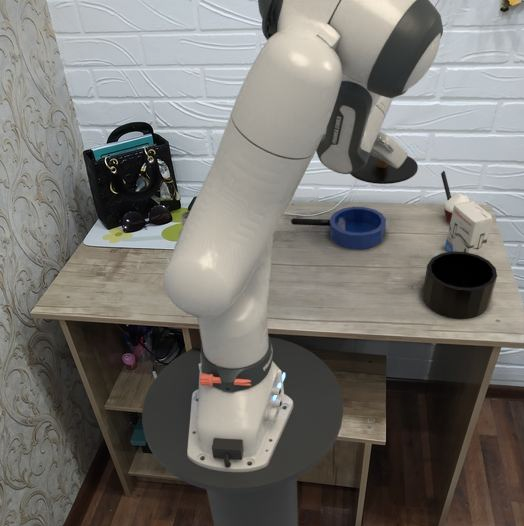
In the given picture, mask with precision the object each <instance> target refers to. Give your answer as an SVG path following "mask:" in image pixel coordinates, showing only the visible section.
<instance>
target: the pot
mask: <svg viewBox="0 0 524 526" xmlns="http://www.w3.org/2000/svg"><path fill="white" fill-rule="evenodd" d="M497 277H498V273H497V268H496V267H495V265H494V264H493V263H492V262H491V261H490V260H488V259H486V258H485V257H484V256H483V257H481V256H479V255H476V254H472V253H468V252H456V251H452V252H448V251H446V252H440V253H439V254H437V255H435V256H433V257H432V258H431V259H430V260H429V261H428V262H427V265H426V271H425V275H424V282H423V287H422V300H423V302H424V304H425V305H426V308H428V309H430V311H432V312H434V313H435V314H437V315H439V316H442V317H445V318H449V319H455V320H467V319H468V320H469V319H473V318H476V317H479V316H481V315H482V314H484V313H485V312H486V311H487V310H488V307H489V306H490V303H491V300H492V297H493V293H494V289H495V285H496V282H497V279H498V278H497Z"/></svg>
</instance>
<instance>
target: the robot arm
mask: <svg viewBox="0 0 524 526" xmlns="http://www.w3.org/2000/svg"><path fill="white" fill-rule="evenodd" d="M257 5H258V12H259V15H260V17H261V30H262V35H263V36H264V38H265V40H266V42H265V43H264V45H263V46H262V48H261V49H260V51H259V52H258V54H257V56H256V57H255V60H254V61H253V63H252V65H251V66H250V69H249V70H248V72H247V74H246V76H245V77H244V78H245V79H244V80H243V83H242V85H241V86H240V89H239V91H238V94H237V96H236V98H235V101H234V104H233V106H232V109H231V111H230V114H229V117H228V120H227V123H226V126H225V129H224V131H223V133H222V136H221V139H220V141H219V145H218V148H217V150H216V154H215V156H214V159H213V161H212V164H211V166H210V169H209V171H208V173H207V175H206V177H205V179H204V181H203V183H202V185H201V187H200V189H199V192H198V194H197V196H196V198H195V200H194V202H193V204H192V206H191V209H190V210H189V211H190V213H189V215H188V217H187V220H186V222H185V224H184V226H183V225H182V228H183V229H182V228H181V229H182V231H181V230H180V231H181V233H180V232H179V233H180V236H179V235H178V239H177V241H176V243H175V246H174V248H173V251H172V253H171V255H170V257H169V260H168V262H167V265H166V267H165V269H164V273H163V279H162V281H163V287H164V291H165V293H166V294H167V296H168V298H169V300H170V301H171V302H172V303H173V304H174V305H175V306H176V307H177V308H178V309H179V310H181V311H182V312H184V313H185V314H187V315H190V316H192V317H195V318H196V319H197V323H198V329H199V335H200V341H201V345H200V349H201V355H200V360H201V363H200V364H199V369H200V376H199V389H198V390H196V391H194V392H193V394H192V403H191V414H190V426H189V437H188V449H187V455H188V458H189V459H190V460H191V461H192V462H193V463H195V464H197V465H199V466H202V467H204V468H208V469H212V470H217V471H224V472H250V471H255V470H259V469H262V468H264V467H266V466H267V465H268V463H269V461H270V459H271V457H272V455H273V452H274V450H275V448H276V446H277V443H278V441H279V439H280V436H281V434H282V432H283V430H284V427H285V425H286V423H287V421H288V418H289V416H290V414H291V412H292V409H293V407H294V405H293V401H292V399H291V398H289V397H288V396H287V395H285V394H284V389H283V380H284V378H285V373H283V375H282V372H281V370H280V369H279V368H278V367H277V366H276V364H275V363H274V362H273V361H272V355H273V354H272V353H273V351H272V345H271V341H270V338H269V337H270V336H269V325H268V297H269V290H270V289H269V288H270V281H271V271H272V259H273V245H274V234H275V232H276V230H277V227H278V226H279V224H280V222H281V220H282V219H283V216H284V214H285V212H286V211H287V209H288V208H289V205H290V203H291V201H292V200H293V197H294V195H295V194H296V191H297V189H298V187H299V185H300V184H301V181H302V179H303V177H304V176H305V173H306V171H307V170H308V167H309V166H310V164H311V162H312V160H313V158H314V156H315V155H317V157H318V160H319V161H320V163H321V164H322V165H323V166H324V167H325V168H326V169H328V170H330V171H332V172H335V173H337V174H341V175H351V174H350V173H353V172H356V171H358V170H360V169H362V168H364V167H365V166H366V164H367V162H368V159H369V156H370V155H372V156H374V157H376V158H378V159H379V160H381V161H383V162H385V163H387V164H388V165H390V166H392V167H394V168H396V169H398V168H399V167H400V166H401V165H402V164H403V162H404V161H405V159H406V158H407V156H409V154H408V152H407V150H406V149H404V148H403V147H402V146H401V145H400V144H399V142H397V141H396V140H395V139H394V138H392V137H391V136H390V135H388V134H386V133H385V132H382V131H381V128H382V126H383V124H384V121H385V119H386V116H387V114H388V113H389V109H390V108H391V104H392V102H393V99H394V98H397V97H400V96H403V95H405V94H406V93H407V92H408V91H409V90H410V89H411V88H413V87H414V86H415V85H417V84H418V83H419V82H420V81H421V80H422V79H423V78H424V77H425V75H426V74H427V73H428V72H429V70H430V69H431V67H432V65H433V63H434V62H435V59H436V57H437V55H438V51H439V48H440V45H441V39H442V36H443V33H444V27H443V26H444V25H443V20H442V16H441V14H440V12H439V11H438V10H437V8H436V6H434V4H433V3H432V2H431V1H430V0H257ZM315 153H316V154H315ZM284 408H285V409H284ZM201 459H204V460H201ZM248 464H252V465H250V466H249V465H248Z"/></svg>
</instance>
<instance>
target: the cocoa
mask: <svg viewBox="0 0 524 526" xmlns="http://www.w3.org/2000/svg"><path fill="white" fill-rule="evenodd" d="M446 174H447V173H446V171H444V170H443V171H441V173H440V176H441V180H442V184H443V188H444V191H445V196H446V200H445V202H444V217H445V220H446V221H447V222H448V223H450V222H451V218H452V213H453V208H454V205H455V204H459V203H463V202H468V201H471V200H470V197H469V196H468V195H466V194H463V193H460V192H459V193H458V192H457V193H454V194H453V195H451V190H450V187H449V182H448V178H447V176H446Z"/></svg>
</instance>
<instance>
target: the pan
mask: <svg viewBox="0 0 524 526" xmlns="http://www.w3.org/2000/svg"><path fill="white" fill-rule="evenodd" d="M329 220H330V226H329V230H328V231H329V233H328V234H329V238H330V240H331V241H332V242H333V243H334V244H335V245H337V246H339V247H341V248H344V249H348V250H357V251H359V250H368V249H372V248H374V247H376V246H378V245H380V244H381V243H382V242H383V241H384V239H385V237H386V228H387V218H386V217H385V215H384V214H383V213H382V212H380V211H378V210H377V209H374V208H370V207H366V206H348V207H343V208H341V209H339V210H336V211H335V212H334V213H333V214H332V215H331V216H330V218H329Z"/></svg>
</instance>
